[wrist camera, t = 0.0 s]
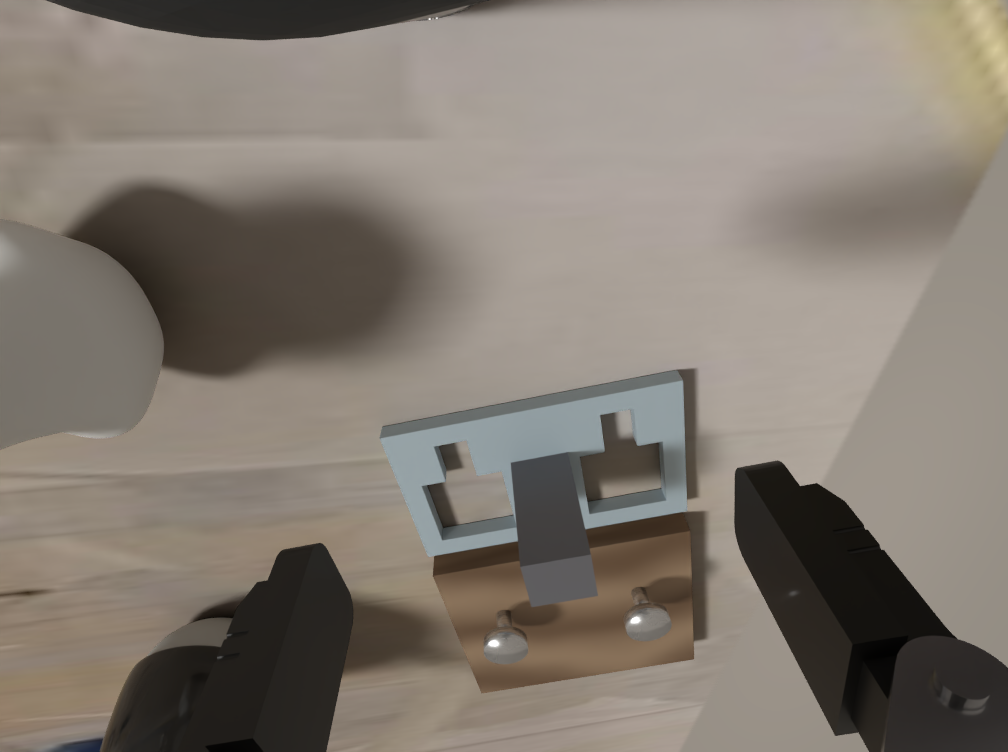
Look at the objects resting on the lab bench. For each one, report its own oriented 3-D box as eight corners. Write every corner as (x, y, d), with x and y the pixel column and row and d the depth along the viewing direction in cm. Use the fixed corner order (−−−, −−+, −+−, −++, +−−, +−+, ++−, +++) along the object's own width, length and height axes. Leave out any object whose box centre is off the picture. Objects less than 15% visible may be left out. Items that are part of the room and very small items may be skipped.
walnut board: (434, 556, 37) (430, 613, 33) (682, 512, 36) (705, 566, 32) (481, 673, 44) (482, 729, 41) (687, 640, 43) (706, 694, 40)
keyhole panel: (382, 426, 31) (358, 542, 24) (676, 370, 30) (737, 474, 23) (429, 544, 36) (420, 666, 29) (681, 499, 35) (732, 615, 28)
